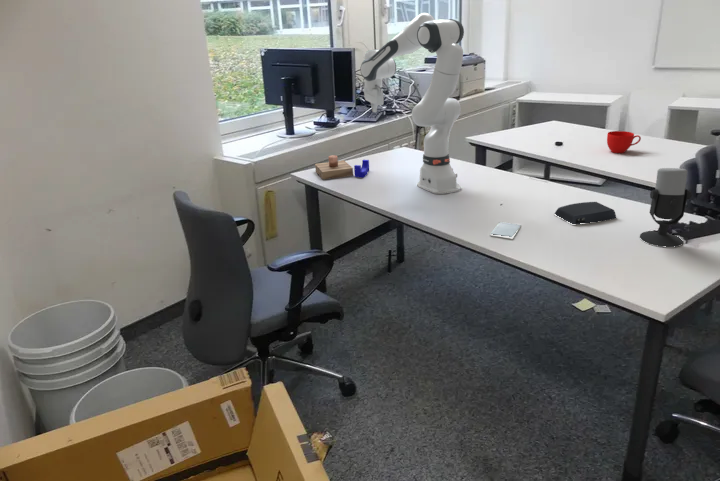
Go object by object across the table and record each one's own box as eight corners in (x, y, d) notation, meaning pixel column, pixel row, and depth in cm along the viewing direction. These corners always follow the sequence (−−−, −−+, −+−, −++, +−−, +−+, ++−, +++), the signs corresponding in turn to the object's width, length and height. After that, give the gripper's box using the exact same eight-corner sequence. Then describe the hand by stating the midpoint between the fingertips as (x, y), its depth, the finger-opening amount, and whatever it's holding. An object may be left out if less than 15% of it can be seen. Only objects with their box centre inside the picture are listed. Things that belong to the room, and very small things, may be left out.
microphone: (673, 232, 179) (689, 163, 169) (689, 248, 167) (707, 175, 157) (634, 231, 181) (647, 163, 171) (647, 247, 169) (662, 175, 159)
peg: (339, 173, 263) (338, 157, 259) (330, 174, 262) (329, 158, 258) (337, 170, 267) (336, 154, 263) (328, 171, 266) (327, 156, 262)
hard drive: (513, 237, 179) (521, 224, 189) (490, 233, 183) (499, 221, 193) (512, 241, 180) (520, 228, 190) (489, 237, 184) (499, 225, 193)
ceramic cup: (642, 154, 270) (645, 136, 266) (608, 154, 273) (611, 136, 269) (634, 148, 282) (637, 130, 278) (602, 148, 285) (604, 131, 281)
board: (353, 175, 259) (352, 167, 258) (322, 179, 255) (322, 171, 254) (344, 167, 273) (344, 160, 272) (315, 171, 269) (315, 164, 268)
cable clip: (362, 177, 255) (362, 166, 253) (354, 177, 257) (354, 165, 255) (371, 171, 265) (371, 160, 263) (364, 170, 267) (363, 159, 265)
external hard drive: (552, 215, 200) (553, 205, 198) (594, 208, 204) (595, 199, 203) (573, 227, 188) (574, 217, 187) (617, 220, 193) (619, 209, 191)
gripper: (386, 85, 246) (387, 114, 252) (373, 81, 264) (373, 108, 270) (374, 86, 245) (375, 115, 250) (361, 82, 263) (362, 109, 268)
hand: (374, 111), depth 260 cm, fingers closed
